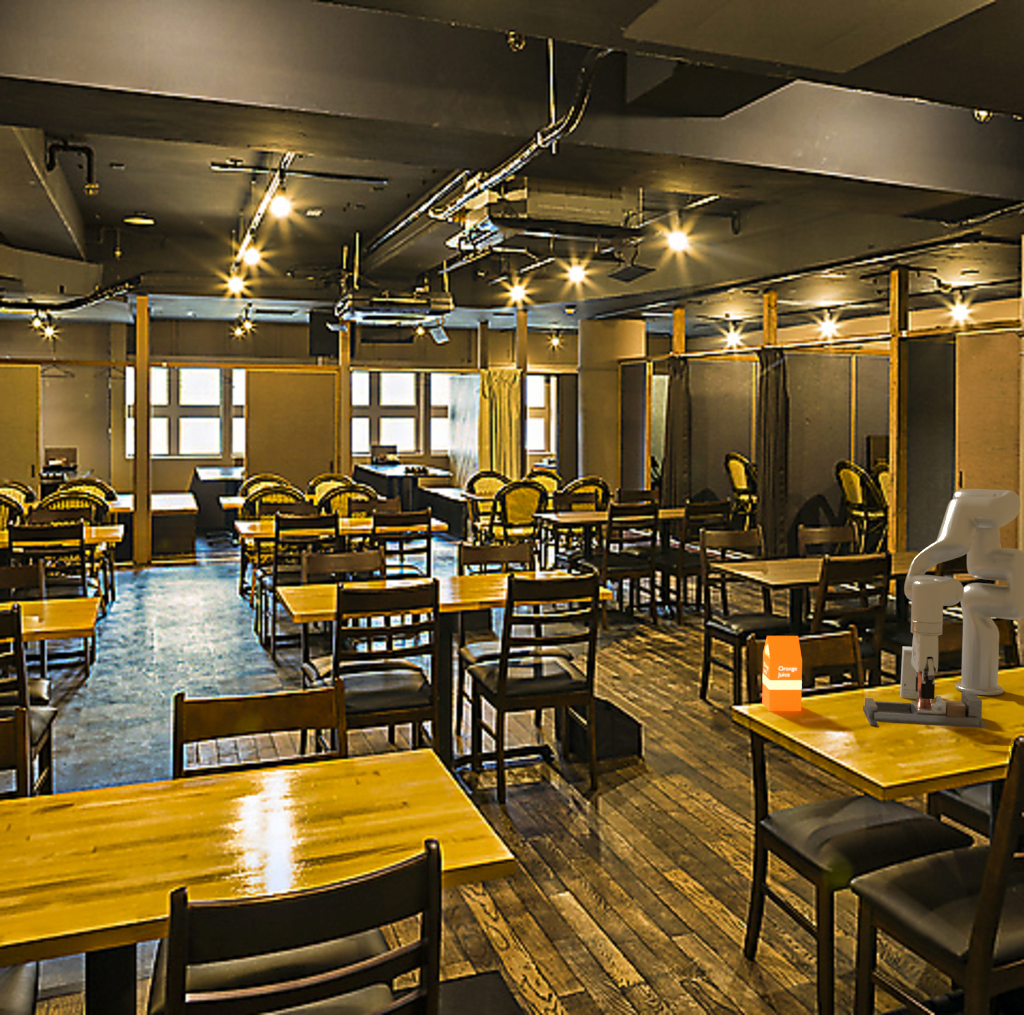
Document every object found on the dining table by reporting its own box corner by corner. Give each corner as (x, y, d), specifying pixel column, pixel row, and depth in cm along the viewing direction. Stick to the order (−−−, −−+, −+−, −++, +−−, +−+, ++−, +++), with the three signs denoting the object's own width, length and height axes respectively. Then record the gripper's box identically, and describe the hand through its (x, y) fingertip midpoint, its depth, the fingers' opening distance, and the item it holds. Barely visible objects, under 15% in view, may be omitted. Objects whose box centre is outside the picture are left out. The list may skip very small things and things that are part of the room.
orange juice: (801, 711, 252) (802, 638, 250) (769, 711, 252) (770, 639, 250) (793, 703, 259) (794, 632, 258) (761, 703, 260) (762, 632, 258)
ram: (911, 710, 246) (912, 664, 245) (939, 712, 245) (940, 666, 244) (916, 719, 239) (918, 672, 238) (946, 720, 237) (947, 673, 236)
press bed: (862, 710, 252) (863, 684, 252) (974, 716, 246) (975, 689, 245) (870, 725, 239) (871, 698, 238) (988, 732, 232) (989, 704, 232)
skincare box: (900, 701, 260) (902, 649, 259) (899, 696, 265) (901, 645, 264) (933, 704, 257) (934, 652, 256) (931, 698, 262) (933, 647, 261)
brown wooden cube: (942, 715, 243) (943, 700, 243) (960, 716, 242) (961, 701, 242) (946, 720, 239) (947, 705, 238) (965, 721, 238) (965, 706, 237)
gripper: (905, 620, 249) (903, 685, 251) (917, 633, 233) (915, 703, 234) (934, 621, 248) (933, 687, 249) (949, 634, 231) (947, 705, 232)
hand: (924, 694), depth 242 cm, fingers open, 6 cm apart
